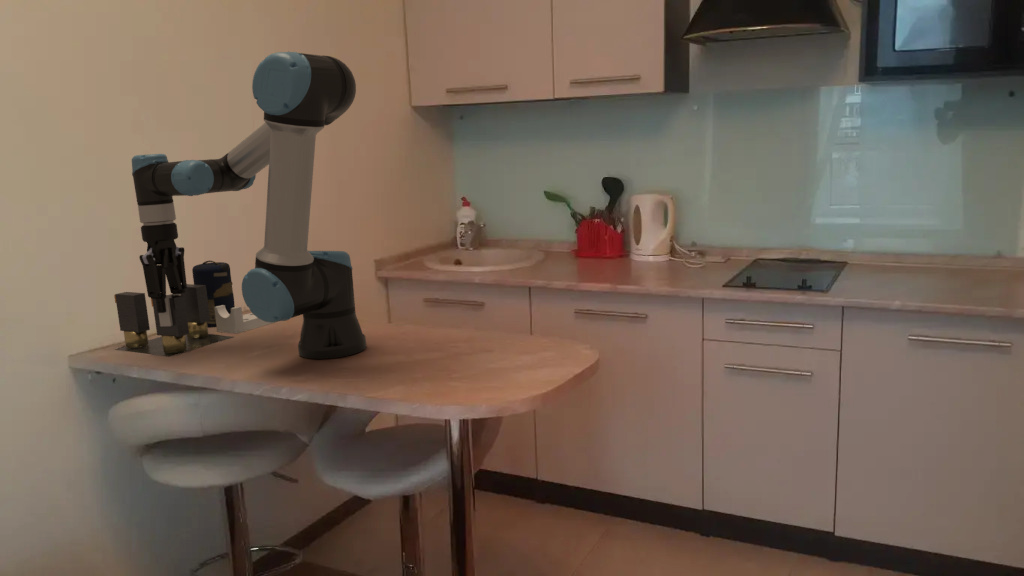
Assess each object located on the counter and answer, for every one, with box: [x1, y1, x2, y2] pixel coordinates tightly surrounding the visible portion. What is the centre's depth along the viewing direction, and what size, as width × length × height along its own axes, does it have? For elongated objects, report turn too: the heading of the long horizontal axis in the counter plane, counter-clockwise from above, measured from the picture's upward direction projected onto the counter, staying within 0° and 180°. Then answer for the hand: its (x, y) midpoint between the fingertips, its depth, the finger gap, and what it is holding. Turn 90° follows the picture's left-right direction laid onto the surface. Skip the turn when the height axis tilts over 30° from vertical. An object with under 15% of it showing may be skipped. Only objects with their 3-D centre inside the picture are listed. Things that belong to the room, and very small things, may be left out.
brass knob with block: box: [113, 291, 151, 348], centre depth 191 cm, size 7×5×13 cm
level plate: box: [114, 333, 235, 358], centre depth 193 cm, size 20×19×2 cm
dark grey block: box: [150, 294, 189, 353], centre depth 184 cm, size 7×5×13 cm
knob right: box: [181, 283, 210, 338], centre depth 198 cm, size 7×5×13 cm
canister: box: [191, 260, 236, 328], centre depth 212 cm, size 10×10×18 cm
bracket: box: [214, 305, 276, 335], centre depth 207 cm, size 13×7×8 cm, turn 150°
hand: (172, 323), depth 184 cm, fingers closed on dark grey block, 4 cm apart
